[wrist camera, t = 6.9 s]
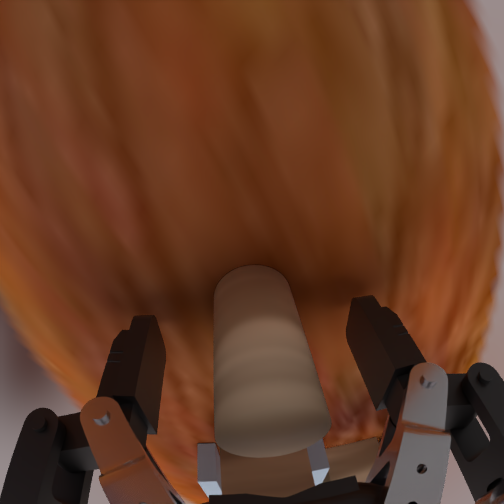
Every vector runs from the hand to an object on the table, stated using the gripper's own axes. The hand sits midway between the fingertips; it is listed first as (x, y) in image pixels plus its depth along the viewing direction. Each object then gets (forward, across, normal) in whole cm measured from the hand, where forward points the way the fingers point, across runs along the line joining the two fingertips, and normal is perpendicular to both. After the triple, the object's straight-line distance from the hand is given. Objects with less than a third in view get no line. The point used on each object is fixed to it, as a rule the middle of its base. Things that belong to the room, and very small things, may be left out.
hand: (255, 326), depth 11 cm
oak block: (+2, -7, +18) cm, 20 cm away
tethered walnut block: (+1, 0, +5) cm, 5 cm away
